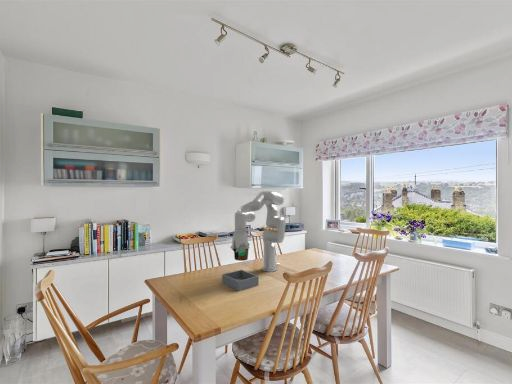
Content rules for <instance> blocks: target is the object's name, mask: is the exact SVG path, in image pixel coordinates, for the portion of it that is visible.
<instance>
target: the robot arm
mask: <svg viewBox="0 0 512 384" xmlns="http://www.w3.org/2000/svg"><path fill="white" fill-rule="evenodd" d="M284 198H285V197H284V196H283V195H282V194H281V193H278V192H276V191H267V190H266V191H265V190H263V191H261V192H259V193H258V194H257V195H256V197H254V199H252V200H251V201H249V202H247V203H245V204H243V205H241V206H240V207H239V208H238V210H237V211H236V212H235V213H234V232H233V235H232V242H231V243H232V244H231V246H230V249H231V250H232V251H233V255H234V256H235V257H234V256H233V257H234V259H235V258H238V252H237V251H238V249H237V248H239V246H247V245H249V246H250V243H249V241H248V233H247V230H248V228H247V223H253V222H254V221H255V220H256V213H254V212H257V211H260V210H261V209H262V208H263V207H264V206H265V207H266V211H267V212H266V213H267V214H266V218H265V219H266V221H265V226H266V227H267V228H268V229H265V230H264V231H262V241H263V266H261V270H262V271H264V272H269V273H271V272H272V273H273V272H277V271H278V266H280V263H279V262H277V263H276V250H277V248H276V245H275V244H282V243H283V242H284V240H285V233H286V226H287V225H286V224H287V223H286V220H285V217H282V216H278V213H279V211H278V210H279V209H278V208H277V206H282V205H283V203H284V200H285V199H284ZM274 229H275V230H274ZM234 246H236V249H235V248H234Z"/></svg>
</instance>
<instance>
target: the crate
mask: <svg viewBox="0 0 512 384" xmlns="http://www.w3.org/2000/svg"><path fill="white" fill-rule="evenodd" d="M221 275H222V277H221V281H222V283H221V284H223V285H225V286H227V287H229V288H231V289H233V290H236V291H238V292H242V291H243V290H247V289H250V288H253V287H256V286H259V275H256V274H254V273H251V272H248V271H245V270H243V269H238V270H235V271H231V272H227V273H224V274H221Z"/></svg>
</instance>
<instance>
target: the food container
mask: <svg viewBox="0 0 512 384" xmlns="http://www.w3.org/2000/svg"><path fill="white" fill-rule="evenodd" d="M234 248H235V249H236V246H234ZM237 249H238V251H237V252H238V258H235V256H233V257H234V260H236V261H242V262H243V261H248V260H249V259H248V257H249V249H250V245H247V246H239V248H237Z"/></svg>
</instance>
